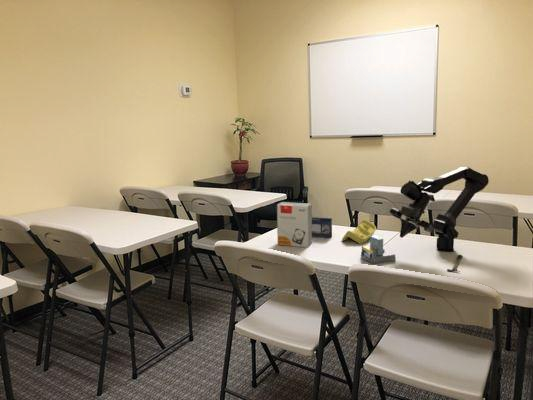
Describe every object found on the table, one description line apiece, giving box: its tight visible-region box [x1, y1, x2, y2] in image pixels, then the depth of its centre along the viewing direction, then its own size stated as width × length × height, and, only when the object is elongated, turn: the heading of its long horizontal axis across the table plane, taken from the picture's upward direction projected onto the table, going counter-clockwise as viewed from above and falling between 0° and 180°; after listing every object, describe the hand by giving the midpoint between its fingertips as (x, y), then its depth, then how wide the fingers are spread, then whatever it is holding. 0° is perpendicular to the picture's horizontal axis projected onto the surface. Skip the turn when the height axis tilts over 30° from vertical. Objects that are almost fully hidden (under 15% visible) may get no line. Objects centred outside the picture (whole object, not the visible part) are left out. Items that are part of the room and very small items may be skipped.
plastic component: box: [341, 219, 377, 244], centre depth 205 cm, size 20×7×10 cm
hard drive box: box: [276, 201, 313, 248], centre depth 196 cm, size 16×8×20 cm, turn 68°
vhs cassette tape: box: [312, 216, 333, 239], centre depth 210 cm, size 18×3×10 cm, turn 70°
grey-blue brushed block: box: [364, 234, 384, 259], centre depth 171 cm, size 6×6×8 cm
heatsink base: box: [360, 245, 397, 265], centre depth 172 cm, size 11×9×5 cm
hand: (400, 237), depth 174 cm, fingers closed
